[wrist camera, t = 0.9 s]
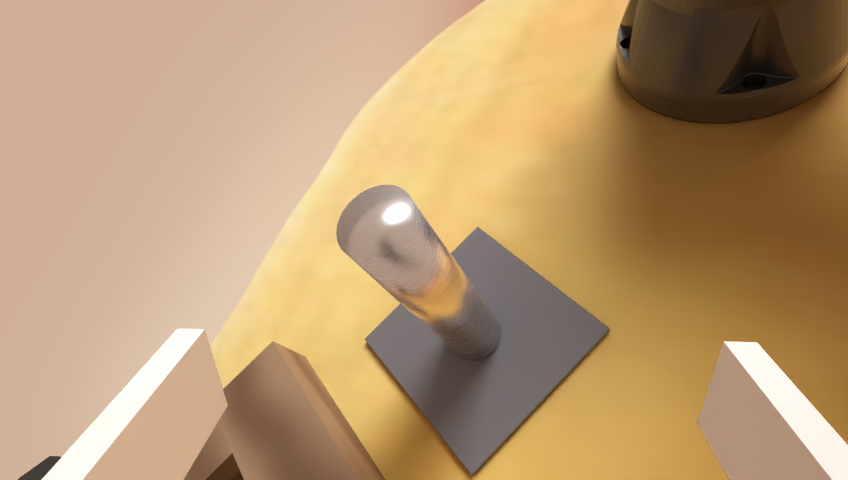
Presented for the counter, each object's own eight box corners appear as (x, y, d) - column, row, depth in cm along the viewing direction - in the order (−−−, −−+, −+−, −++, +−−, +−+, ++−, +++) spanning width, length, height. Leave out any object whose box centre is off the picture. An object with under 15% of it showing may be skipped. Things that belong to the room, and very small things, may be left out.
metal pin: (475, 299, 32) (381, 171, 20) (512, 332, 30) (431, 212, 18) (439, 335, 32) (322, 228, 20) (474, 372, 30) (365, 276, 18)
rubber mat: (479, 229, 36) (477, 226, 35) (609, 330, 28) (609, 328, 28) (367, 340, 34) (364, 339, 34) (473, 475, 27) (471, 474, 27)
